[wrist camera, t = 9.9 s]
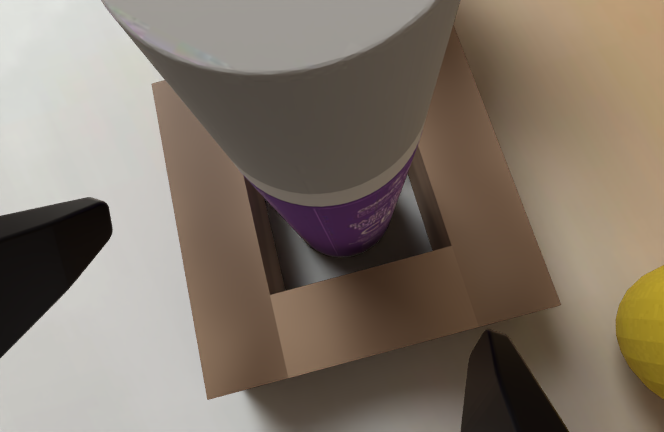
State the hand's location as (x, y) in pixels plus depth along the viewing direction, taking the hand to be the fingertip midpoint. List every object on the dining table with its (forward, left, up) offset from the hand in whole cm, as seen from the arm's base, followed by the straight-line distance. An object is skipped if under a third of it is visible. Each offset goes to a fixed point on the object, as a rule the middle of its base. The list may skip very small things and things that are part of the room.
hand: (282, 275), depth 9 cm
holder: (+2, +4, -9) cm, 10 cm away
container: (+2, +3, -10) cm, 10 cm away
